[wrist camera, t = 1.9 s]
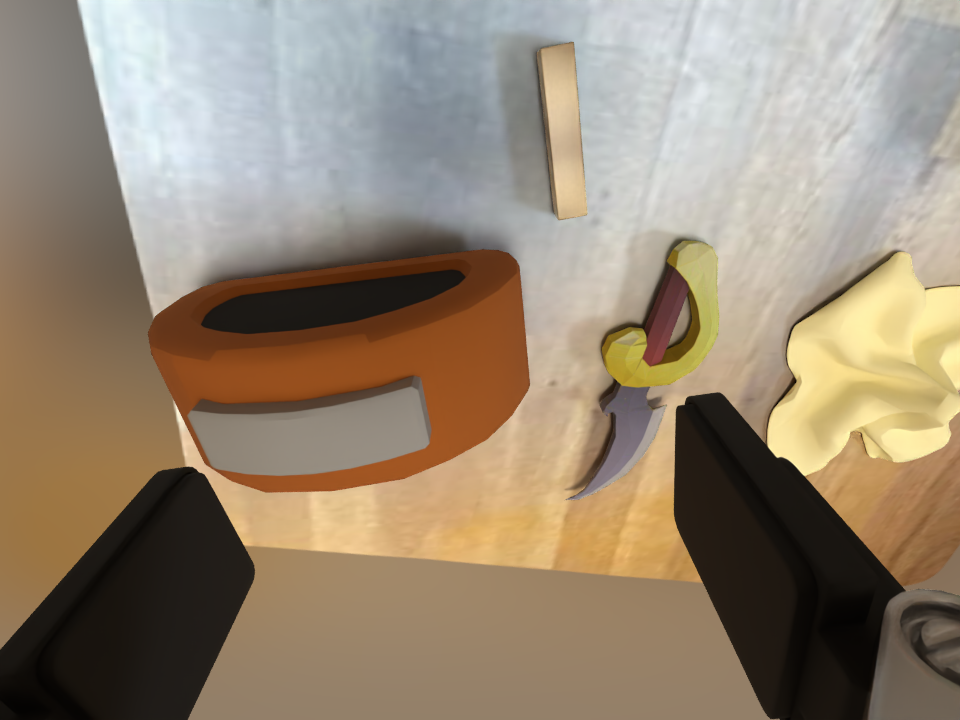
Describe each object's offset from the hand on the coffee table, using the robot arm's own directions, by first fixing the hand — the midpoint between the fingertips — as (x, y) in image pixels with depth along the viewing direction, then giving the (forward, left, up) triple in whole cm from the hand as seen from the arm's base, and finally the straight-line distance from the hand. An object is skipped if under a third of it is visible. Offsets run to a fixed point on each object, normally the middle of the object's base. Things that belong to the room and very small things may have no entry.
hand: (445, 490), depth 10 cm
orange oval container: (+6, -9, -28) cm, 30 cm away
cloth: (+20, +31, -28) cm, 47 cm away
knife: (+16, +11, -28) cm, 34 cm away
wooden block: (-4, +7, -28) cm, 29 cm away
